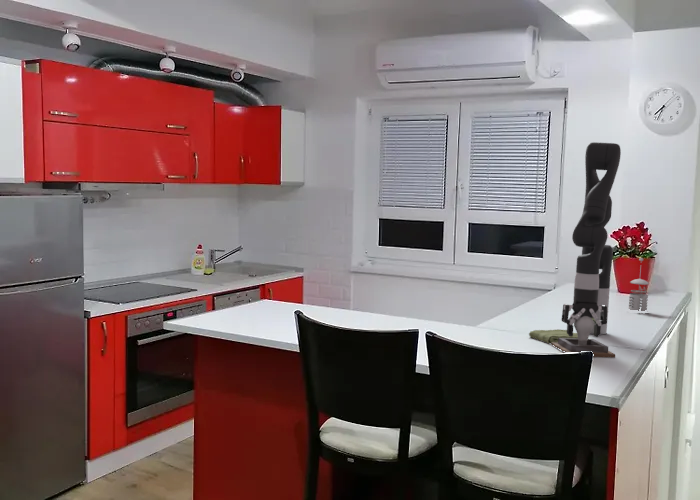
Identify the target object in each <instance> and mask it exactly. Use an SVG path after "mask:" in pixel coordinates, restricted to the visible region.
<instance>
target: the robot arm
mask: <svg viewBox="0 0 700 500" xmlns="http://www.w3.org/2000/svg"><path fill="white" fill-rule="evenodd" d="M621 151H622V150H621V146H620V144H618V143H613V142H594V141H593V142H590V143H588V144H587V146H586V149H585V157H584V158H585V161H584V162H585V193H584V194H585V195H584V205H583V211H582V215H581V217H580V218H579V220H578V222H577V224H576V226H574V227H575V228H574V229H573V232H572V242H573V244H574V246H576V247H579V248H581V254H580V255H578V256H577V258H576V265H575V267H576V269H575V276H574V286H573V301H572V304H567V303H564V304H563V305H562V312H561V313H562V314H561V319H560V321H561V322H562V323H564V324H566V330H567V334H568V335H569V336H571V337H572V336H573V333H574V322H575V321H576V320H578V318H579V317H583V316H588V317H590V318H592V320H593V322H594V327H593V329H592V331H591V332H590V334H589V335H593V337H595V338H599V336H601V335H606V334H607V330H608V317H609V303H610V301H609V300H610V289H611V273H612V272H611V271H612V266H613V257H614V256H613V255H614V254H613V252H614V249H613V247H612V246H611V245H609V244H606V243H607V241H608V237H609V235H608V231H607V229H606V228H605V227H606V225H608V223H609V222H610V220H611V218H612V208H613V199H612V198H611V196H610V194H611V192H612V188H613V185H614V183H615V179H616V176H617V172H618V169H619V165H620V161H621ZM597 170H598V171H606V172H605V174H604V175H603V177H602V178H601V179H600V178H599V176H598V173H597ZM600 270H601V271H600ZM571 310H573V312H572V313H571V314H570V317H569V313H570V311H571Z"/></svg>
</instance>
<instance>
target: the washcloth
mask: <svg viewBox="0 0 700 500" xmlns="http://www.w3.org/2000/svg"><path fill="white" fill-rule="evenodd" d="M528 335H529V337H530V338H531V337H532V339H534V338H535V339H534V340H537V339H538V340H537V341H541V340H542V341H541V342H543V341H544V343H546V342H547V343H546V344H549V343H551V342H556V343H558V338H578V335H577V332H573V336H572V337H571V336H569V335H568V334H567V329H535V330H533V331H530V332H529V333H528Z"/></svg>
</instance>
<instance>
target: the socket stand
mask: <svg viewBox="0 0 700 500" xmlns="http://www.w3.org/2000/svg"><path fill="white" fill-rule="evenodd" d="M551 344H552V345H554V346H555V347H557V348H559V349H561V350H562V351H565V352H581V351H592V352H593V354H594V357H593V358H616V354H615V353H614V352H612V351H609V346H608V345H606V344H604V343H602V342H600V341H599V340H596V339H594V338H588V340H587V345H578V338H558V343H556V342H551ZM551 344H550V345H551ZM555 347H554V348H555Z"/></svg>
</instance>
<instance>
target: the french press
mask: <svg viewBox="0 0 700 500" xmlns="http://www.w3.org/2000/svg"><path fill="white" fill-rule="evenodd" d="M638 261H640V262H643V261H644V257H639V259H638ZM639 268H640V269H639V271H640V272H639V276H641V273H642V266H640V267H639ZM629 283H630V284H634V285H638V290H637V289H631V290H630V292H631V293H629V296H628V297H629V299H628V300H629V301H628V309H630V310H638V311H639V309H640V308H641V311H645V310H647V311H648V301H649V300H648V298H649V295H648V294H647V293H648V291H647V290H646V287H645V286H646V285H649V284H650V283H649V281H647V280H645V279H642V278H637V279H636V278H635V279H633V280H631V281H629ZM640 285H642V286H643V285H644V286H643V288H641V286H640Z"/></svg>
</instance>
